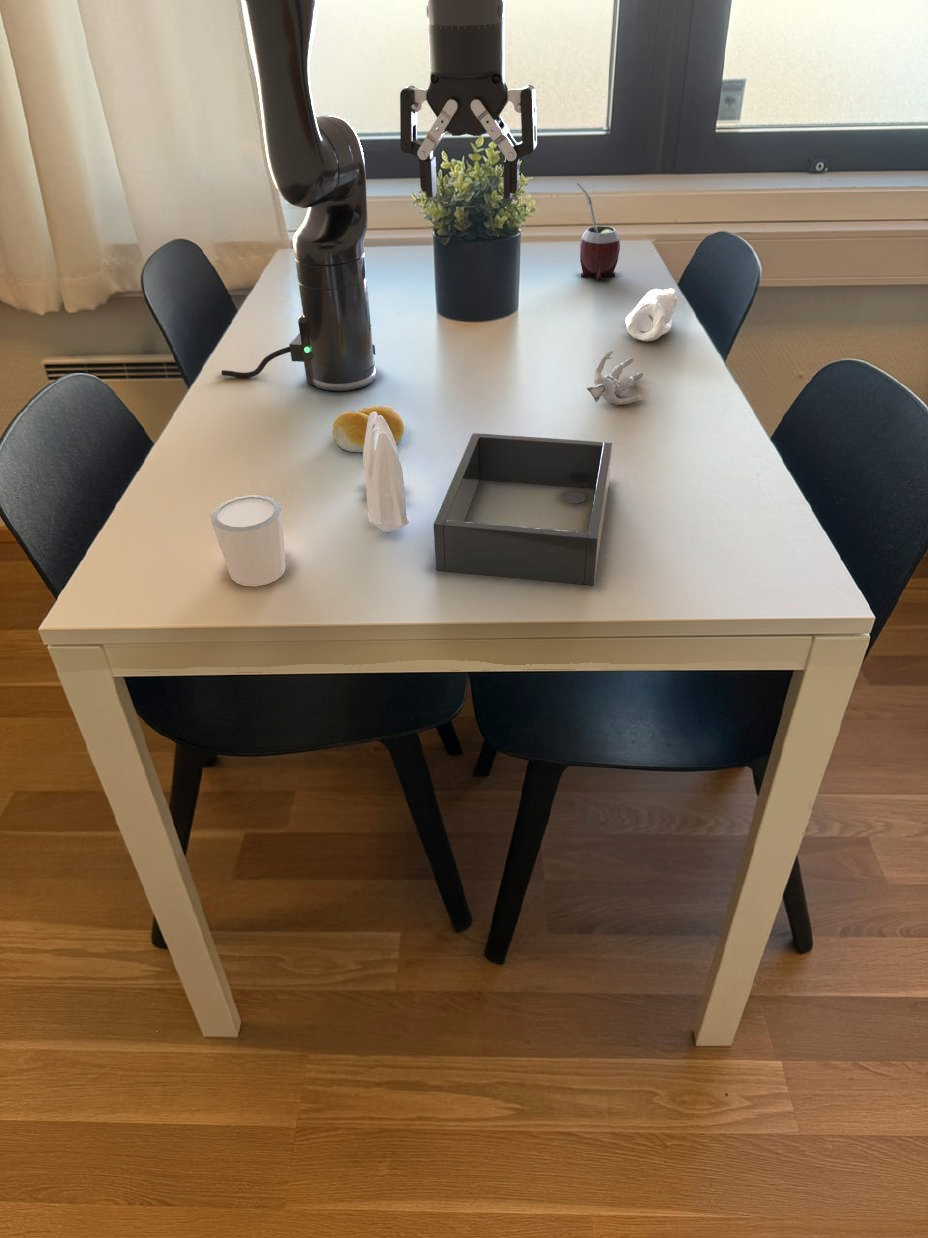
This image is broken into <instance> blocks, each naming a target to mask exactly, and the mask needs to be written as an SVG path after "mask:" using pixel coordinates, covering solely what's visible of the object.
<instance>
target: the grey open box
mask: <svg viewBox="0 0 928 1238" xmlns="http://www.w3.org/2000/svg"><path fill="white" fill-rule="evenodd" d="M612 451H613V442H607V441H596V440H595V441H594V440H582V439H568V438H567V439H565V438H552V437H551V438H550V437H537V436H524V435H507V434H495V433H494V434H493V433H478V432H472V433H471V436H470V438H469V440H468V443H467V445H466V447H465V449H464V452H463V454H462V457H461V459H460V462H459V464H458V466H457V468H456V470H455V473H454V475H453V478H452V479H451V483H450V485H449V487H448V489H447V492H446V494H445V496H444V499H443V501H442V503H441V506H440V507H439V511H438V513H437V515H436V518H435V520H434V522H433V540H434V541H433V542H434V558H435V570H436V571H442V572H452V573H463V574H471V575H472V574H473V575H480V576H481V575H482V576H483V575H484V576H492V577H502V578H513V579H522V580H523V579H524V580H534V581H544V582H554V583H555V582H556V583H563V584H564V583H566V584H576V585H584V586H585V585H586V586H594V585H595V580H596V575H597V567H598V561H599V554H600V547H601V542H602V541H601V540H602V534H603V528H604V527H603V526H604V522H605V521H604V520H605V513H606V507H607V500H608V499H607V498H608V493H609V486H610V475H611V465H612V463H611V462H612V453H613V452H612ZM480 480H482V481H494V482H507V483H520V484H533V485H546V486H557V487H569V488H583V489H595V491H594V494H593V495H594V496H593V501H592V507H591V514H590V519H589V526H588V532H586V531H576V530H575V531H574V530H563V529H553V528H551V529H550V528H542V527H541V528H540V527H528V526H517V525H507V524H506V525H505V524H495V523H494V524H493V523H482V522H472V521H471V522H470V521H465V520H466V517H467V514H468V511H469V509H470V507H471V504H472V501H473V498H474V496H475V493H476V491H477V488H478V485H479V482H480ZM564 500H565V501H566V502H567V503H568V504H569V503H570V504H573V505H578V504H582V503H584V502H586V500H587V497H586V495H585V494H584V493H582V492H577V491H572V492H569V493H567V494H565V495H564Z"/></svg>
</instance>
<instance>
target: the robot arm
mask: <svg viewBox="0 0 928 1238" xmlns="http://www.w3.org/2000/svg"><path fill="white" fill-rule="evenodd" d="M241 3H242V6H243V12H244V18H245V23H246V27H247V33H248V39H249V43H250V49H251V55H252V60H253V64H254V70H255V77H256V84H257V89H258V97H259V98H258V99H259V107H260V115H261V122H262V131H263V139H264V146H265V154H266V159H267V164H268V169H269V172H270V175H271V179H272V181H273V183H274V185H275V188H276V189H277V191H278V193H279V194H280V195H281V197H282V198H283V199H284V200H285V201H286V202H287V203H289V205H292V206H293V207H295V208H298V209H307V212H306V215H305V217H304V220H303V222H302V223H301V224H300V226H299V227H298V228H297V230H296V231H295V233H294V234H293V237H292V247H293V254H294V255H293V256H294V261H295V268H296V276H297V283H298V290H299V297H300V304H301V312H302V314H301V315H300V316H299V317H298V319H297V323H298V330H299V333H298V334H297V335H296V337H295V338H294V339H292V341H291V342H290V343H289V344H288V345H289V346H286V347H284V348H280V349H278V350H276V351H273V352H271V353H270V354H267V355H266V356H265V357H264V358H263V359H262V360H261V361H260V363H259V365H258V366H256V369H254V370H251V371H247V372H240V371H233V370H227V369H222V370H221V376H225V377H234V378H239V379H249V378H253V377H255V376H258V375H259V374H260V373H261V372H263V370H264V369H265V368H266V366H267V364H268V363H269V362H271V361H272V360H274V359H275V358H277V357H279V356H282V355H285V354H288V353H290V359H291V362H300V363H303V366H304V373H305V374H304V375H305V379H306V380H305V381H306V385H309V386H314V387H317V388H318V389H321V390H324V391H334V392H344V391H353V390H356V389H357V390H358V389H360V388H361V389H362V388H364V387H366V386H368V385H370V384H372V383H373V382H374V381H375V380H376V378H377V373H376V372H377V370H376V365H375V363H376V362H375V356H376V346H375V344H373V343H374V342H373V334H372V323H371V311H370V302H369V301H370V300H369V290H368V279H367V267H366V258H365V257H366V255H365V247H364V246H365V245H364V243H365V238H366V234H367V231H368V223H369V222H368V221H369V220H368V197H367V196H368V195H367V193H368V192H367V173H366V163H365V157H364V152H363V151H364V150H363V147H362V145H361V142H360V139H359V137H358V135H357V133H356V131H355V130H354V129H353V127H352V126H351V124H350V123H349V122H348V121H346V120H345V119H343V118H342V117H339V116H336V115H332V114H331V115H329V114H328V115H320V116H316V113H315V108H314V103H313V102H314V101H313V97H312V96H313V95H312V91H311V79H310V63H311V62H310V61H311V60H310V59H311V53H312V45H313V40H314V35H315V29H316V24H317V18H318V12H319V5H320V0H241ZM425 8H426V18H427V32H428V34H427V35H428V55H429V57H428V60H429V84H428V88H419V87H415V86H414V85H412V84H411V85H408V86H406V87H404V88H403V89H402V90H401V91H400V92H399V117H400V118H399V119H400V120H399V121H400V122H399V123H400V124H399V125H400V126H399V127H400V129H399V132H400V133H399V135H400V136H399V137H400V138H399V139H400V142H399V143H400V150H401V152H402V153H404V154H410V155H412V156H414V157H416V158H417V159H418V164H419V180H420V181H419V184H420V185H419V186H420V189H421V192H422V193H425V195H426V196H425V197H426V198H427V199H434V198H435V197H437V194H438V185H437V161H436V160H437V159H436V158H437V157H436V156H434V151H435V150H436V148H437V147H438V145H439V144H440V142H441V140H442V139H443V138H444V136H445V134H446V133H448V134H450V135H451V137H460V136H463V135H470V136H473V137H482V136H483V135H485V134H488V136H489V137H490V139H491V140H492V142H493V143H494V144H495V145H496V146H497V147H498V149H499V150H500V152H501V153H502V155H503V156H504V158H505V160H504V161H503V199H504V200H511V199H512V197H513V195H514V194H516V193H517V191H518V189H519V187H520V159H522V157H525V156H529V155H531V154H533V152H534V151H535V150H536V148H537V146H538V131H537V130H538V129H537V99H536V95H537V94H536V88H535V86H533V85H532V84H528V85H526V86H525V87H520V88H508V86H507V83H506V79H505V0H426V7H425ZM425 101H426V102H427V104H428V106H429V108H430V109H431V111H432V112H433V114H434V115H435V116H436V119H435V121H434V123H433V124H432V126H431V128H430V129H429V131H428V132H427V134H426V136H425V138H424V140H423V141H421V140H419V139H418V112H420V111H421V110H422V108H423V106H424V102H425ZM508 102H511V103H512V105H513V108H514V111H515V112H516V113H518V114H520V125H521V126H520V127H521V141H519V142H517V141H516V140H515V138H514V137H513V135H512V133H511V132H510V129H509V127H508V125H507V124H506V122H505V121H504V119H503V118H502V117H501V114H502V112H503V110H504V109H505V107H506V106H507V104H508Z"/></svg>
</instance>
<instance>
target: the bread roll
mask: <svg viewBox="0 0 928 1238" xmlns="http://www.w3.org/2000/svg"><path fill="white" fill-rule="evenodd" d="M372 412H376V413H377V415H378V416H379V415H381V416H382V417H383V418H384V419H385V421H386V423H387V424H388V426H389V428H390V431H391V433H392V435H393V437H394V440H395V442H396V444H398V443H399V442H400V441H401V440H402V438H403V436H404V433H405V425H404V421H403V419H402V417H401V415H400V414H399V413H398V412H397V411H396V410H394V409H392V408H391V407H389V406H385V405H375V406H367V407H363V408H360V409H358V411H345V412H342V413H341V414H339V415H338V416H337V417H336V418H335V420H333V424H332V436H331V438H332V440H333V441H334V442H335V443H336V444H337V446H338V447H339V448H341V449H342V450H345V451H346V452H350V453H363V450H364V442H365V436H366V429H367V423H368V418H369V415H370V413H372Z"/></svg>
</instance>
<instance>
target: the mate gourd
mask: <svg viewBox="0 0 928 1238" xmlns="http://www.w3.org/2000/svg"><path fill="white" fill-rule="evenodd" d="M576 186H578V188H579V189H580V190H581V191H582V193H583V194H584V196H585V197H586V203H587V205H588V209H589V212H590V217H591V222H592V226H589V227H588V228H586V229H585V231H584V232H583V234H582V235H581V240H580V245H579V258H580V259H579V261H580V266H581V271H582V272H580V277H582V278H584V277H585V278H586V277H589V278H590V277H595V278H596V281H597V282H602V281H603V277H615V276H616V270H615V269H616V267H617V264H618V261H619V257H620V256H619V254H620V250H621V241H620V236H619V234H618V231H617V230H616V229H615V228H614V227H612V226H607V225H597V221H596V217H595V212H594V208H593V199H592V197H591V196H590V194H589V193H588V191H587V190H586V188H585V187H583V185H582V184H580V182H577V183H576Z"/></svg>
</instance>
